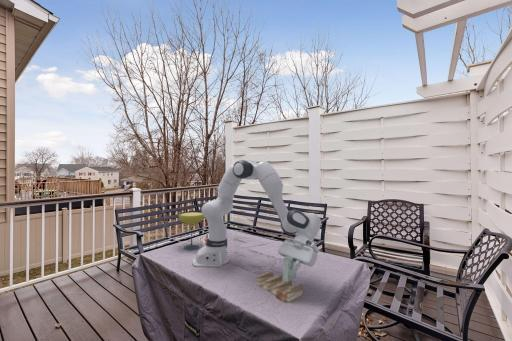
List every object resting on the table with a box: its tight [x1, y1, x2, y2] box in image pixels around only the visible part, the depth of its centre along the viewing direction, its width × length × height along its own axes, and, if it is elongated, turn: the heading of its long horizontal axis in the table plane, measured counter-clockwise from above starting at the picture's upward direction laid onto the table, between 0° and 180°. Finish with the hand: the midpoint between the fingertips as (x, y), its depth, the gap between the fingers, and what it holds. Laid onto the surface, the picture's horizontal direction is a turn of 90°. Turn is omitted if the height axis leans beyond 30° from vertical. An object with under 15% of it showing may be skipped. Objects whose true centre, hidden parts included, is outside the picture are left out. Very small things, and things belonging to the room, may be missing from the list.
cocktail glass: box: [178, 210, 205, 251], centre depth 182 cm, size 18×18×25 cm
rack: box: [256, 270, 304, 303], centre depth 122 cm, size 21×11×4 cm, turn 42°
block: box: [282, 256, 297, 282], centre depth 118 cm, size 3×6×10 cm, turn 132°
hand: (288, 267), depth 117 cm, fingers closed on block, 3 cm apart
